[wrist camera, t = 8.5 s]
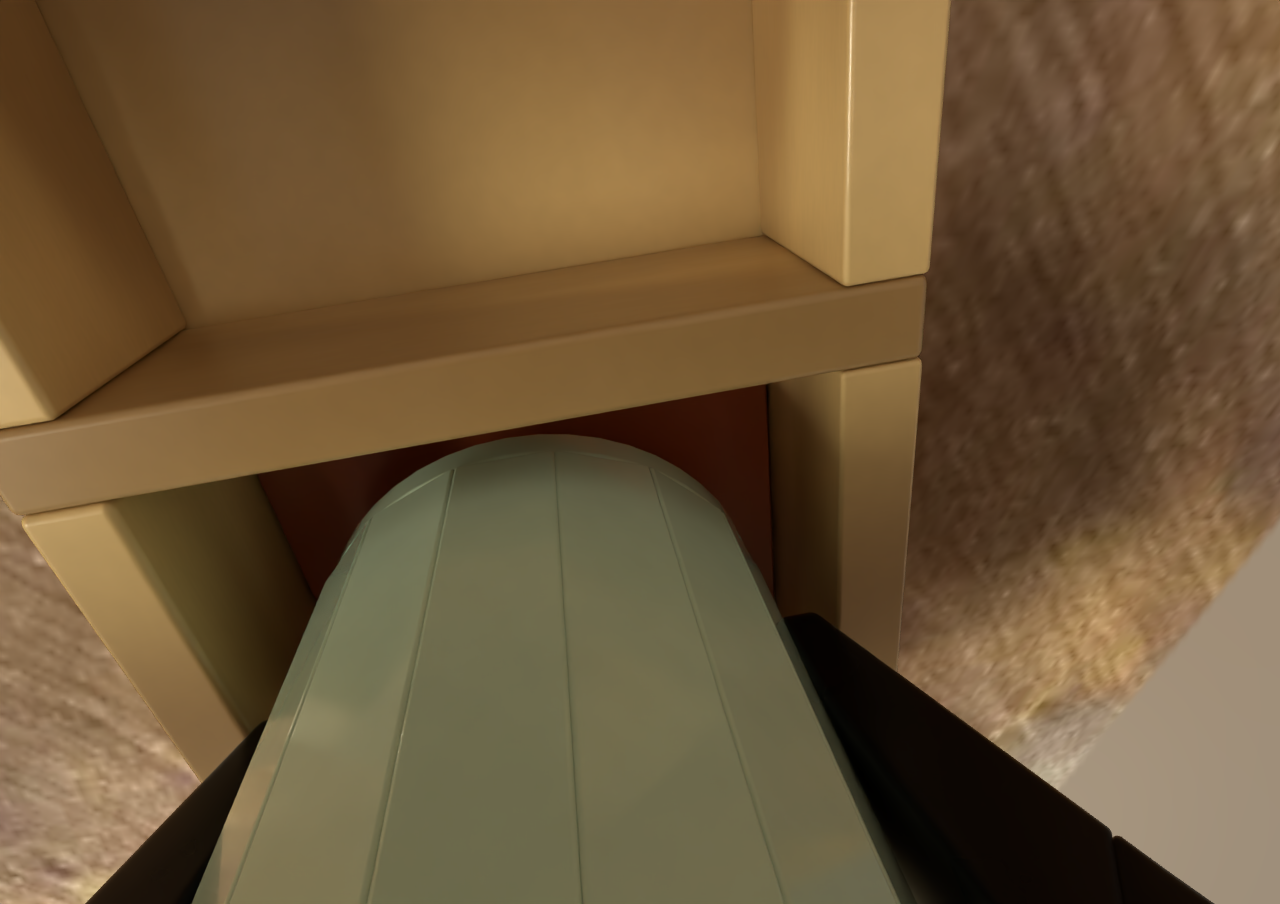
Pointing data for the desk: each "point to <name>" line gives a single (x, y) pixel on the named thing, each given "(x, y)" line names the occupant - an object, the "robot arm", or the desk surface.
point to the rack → (448, 290)
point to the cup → (549, 708)
